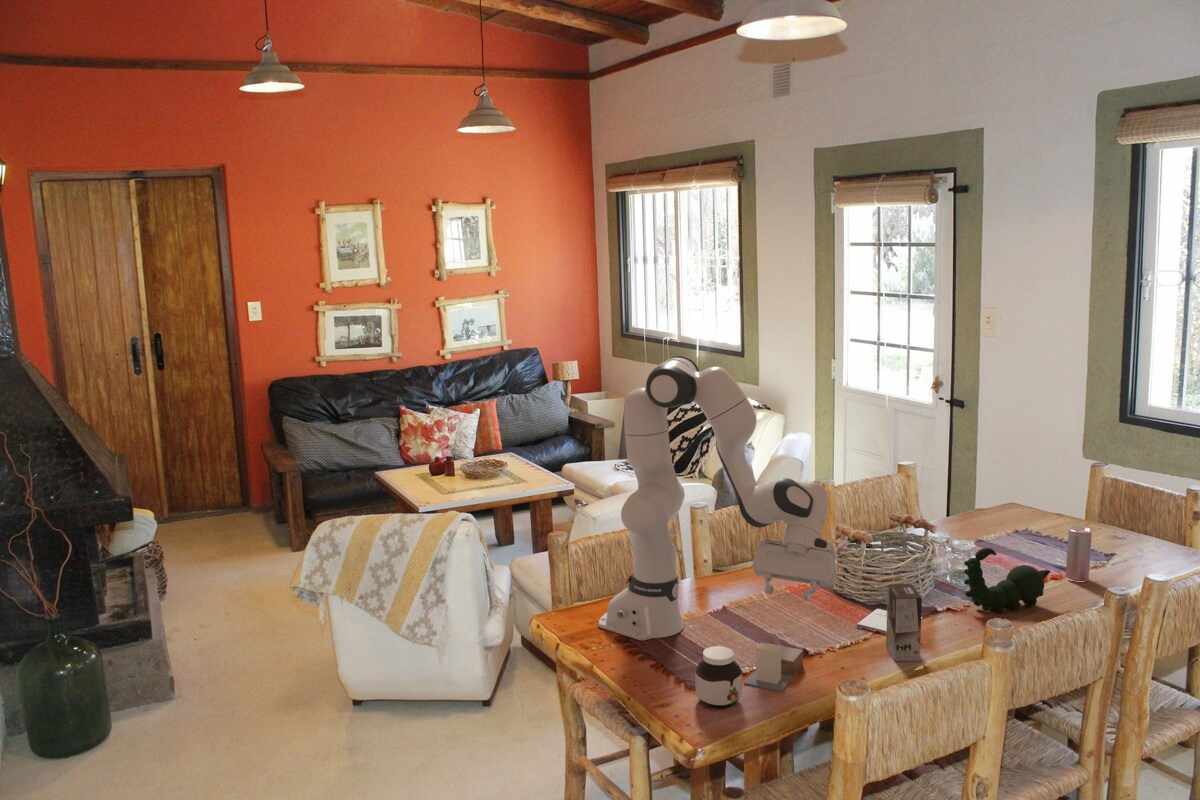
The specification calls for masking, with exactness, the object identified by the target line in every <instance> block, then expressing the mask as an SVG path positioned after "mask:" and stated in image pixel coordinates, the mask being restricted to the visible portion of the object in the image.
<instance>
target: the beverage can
mask: <svg viewBox="0 0 1200 800" xmlns="http://www.w3.org/2000/svg"><path fill="white" fill-rule="evenodd" d="M1092 536H1093V535H1092V530H1091V529H1090V528H1088V527H1085V526H1076V525H1075V526H1071V527H1069V530H1068V533H1067V547H1066V548H1067V551H1066V552H1067V553H1066V563H1065V564H1066V566H1065V569H1066V570H1065V577H1067V578H1069V579H1071V580H1074V581H1086V580H1088V581H1089V579H1090V567H1091V565H1090V563H1091V549H1092V538H1093V537H1092ZM1067 578H1066V579H1067Z"/></svg>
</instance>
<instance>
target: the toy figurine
mask: <svg viewBox="0 0 1200 800" xmlns="http://www.w3.org/2000/svg"><path fill="white" fill-rule="evenodd" d="M990 555H993V556H996V555H997V552H996V551H995V550H994V549H992V548H990V547H982V548H981V549H978V550H977V551H976V553H975V557H970V558H969V559H968V560H965V561H964V565H965V566H966V567H967V568H964V570H963V574H965V575H967V576H968V578H966V579H964V582H963V583H964V585H966V586H969V590H966V591H965V592H964V594H965V597H967V598H971V600H972V603H973V604H974V606H976V607H979V606H981V609H982V610H983V611H984V612H989V611H990V610H991V609H992V610H996V612H997V613H999V614H1004V613H1005V611H1006V608H1005V607H1006V606H1010V608H1011V609H1012V610H1014V611H1016V610H1019V609H1020V608H1021V602H1020V601H1022V603H1024V605H1026V606H1028V605H1029V606H1030V607H1031V606H1032V607H1033V606H1035V605H1036V604H1037V599H1038V598H1039V597H1042V596H1043V595H1044V590H1045V589H1044V588H1045V579H1046V578H1047V576H1049V574H1050V573H1051V570H1049V569H1042V570H1038V569H1037V568H1035V567H1034V566H1031V565H1027V564H1026V565H1025V564H1021V565H1018V566H1015V567H1014V568H1012V569H1011V570H1010V571H1009V572H1008V573H1007V576H1006V577H1005V579H1002V580H1001V581H999V582H998V583H996V585H992V586H990V587H988V586H987V585H986V580H985V578H984V577H983V576H984V575H983V574H984V571H983V569H982V567H981V566H982V563H981V561H983V560H985V559H986V558H987V557H988V556H990ZM1029 606H1028V607H1029Z"/></svg>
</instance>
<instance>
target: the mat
mask: <svg viewBox="0 0 1200 800" xmlns="http://www.w3.org/2000/svg"><path fill="white" fill-rule="evenodd" d="M793 679H794V677H793V676H790V675H785V674H781V680H780V681H779V682H778V683H777V684H773V683H768V682H764V681H759V680H756V669H755V670H754V671H753V672H752V673H751V675H749V677H748V678H747V679H746V680H745V681H744V683H743V684H744V685H746V686H749V687H750V686H751V687H753V688H754V687H755V688H760V689H764V690H768V691H774V692H778V693H783V691H784V690H785V689H786V688H787V686H788V685H789V684H790V683H791V681H792V680H793Z"/></svg>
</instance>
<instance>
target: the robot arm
mask: <svg viewBox="0 0 1200 800" xmlns="http://www.w3.org/2000/svg"><path fill="white" fill-rule="evenodd" d="M624 401H625V402H624V411H623V413H624V414H623V423H624V424H623V425H624V437H625V449H626V455H627V463H628V465H629V466H630V467H631V468H632V470H633V472H634V475H635V478H636V480H637V489H636V490H635V491H634V492H632V493H631V494H630V495H629V496H628V497H627V499H626V500H625V502H624V503H623V505H622V507H621V511H620V518H621V523H622V524H623V526H624V528H625V529H626V530H627V531H628V532H629V533H628V535H629V538H630V540H631V541H630V542H631V545H632V550H633V551H632V553H633V554H632V555H633V571H632V573H631V574H629V576H628V577H627V578H626V579H625V580H624V581H625V584H626V585H627V584H628V586H627V587H626V588H625V589H623V590H621V591H620V592H619V593H618V594H616V595H615V596H614V597H612V599H611V600H610V601H609V602H608V606H607V610H606V612H605V613H604V614H603V615H601V617H600V618H599V620H598V627H599V628H601V629H604V630H608V631H610V632H613V633H616V634H620V635H622V636H625V637H629V638H632V639H635V640H638V641H646V640H650V639H659V638H667V637H671V636H674V635H677V634H678V633H680V632H681V631H683V629H684V622H683V619H682V615H681V612H680V605H679V599H678V598H679V591H680V590H679V575H678V574H677V546H676V545H675V543H674V542H673V541H672V539H671V533H670V528H669V527H670V520H671V519H672V518H673V517H674V516H675V515H676V514H677V513H678V512H679V511H680V509H681V507H682V506H683V503H684V500H685V488H684V487H683V484H682V483H681V481H680V480H678V477H677V474H676V471H675V467H674V464H673V460H672V454H671V446H670V436H669V435H670V434H669V433H670V432H669V425H668V423H669V422H668V410H669V409H671V408H672V409H673V408H676V407H681V406H686V405H690V404H692V403H694V404H696V405H697V406H698V407H699V408H700V410H701V411H702V413H703V414H704V416H705V417H706V419H707V421H708V423H709V425H710V426H711V428H712V431H713V434H714V438H715V447H716V448H715V449H716V452H717V455H718V458H719V460H720V462H721V465H722V467H723V469H724V471H725V473H726V476H727V478H728V479H729V482H730V484H731V487H732V489H733V490H734V493H735V495H736V500H737V503H738V507H739V511H740V514H741V516H742V518H743V519H744V520H745V522H747V524H749V525H750V526H752V527H754V528H759V529H761V528H765V527H767V526H770V525H772V524H774V523H776V522H780V521H783V522H784V523H785V524H786V527H785V531H784V534H783V538H782V541H779V540H770V539H765V540H764V541H761V542H759V544H758V545H757V549H756V554H755V556H754V558H753V561H752V563H751V568H752V571H753V572H754V573H755V575H756V576H760V577H763V579H764V582H765V588H764V593H765V594H767V595H772V594H773V592H774V589H775V588H774V587H773V585H772V584H770V582H771V581H772V579H779V580H784V581H790V582H797V583H801V584H809V585H810V587H809V588H808V590H803V593H802V599H803V600H804V601H811V598H812V595H813V594H814V593H815V592H816V591H817V590H818V589H819V586H822V587H827V588H831V587H832V586H834V585H835V584H836V580H837V579H836V578H837V574H838V573H837V572H838V570H837V569H838V565H837V562H836V560H837V557H838V554H837V552H836V549H835V547H834V545H833V543H831V541H829V540H826V539H824V538H822V530H823V527H824V526H825V525H826V520H827V516H828V511H829V506H830V505H829V503H830V499H829V498H830V497H829V493H828V491H827V489H826V488H825V487H824V486H823V485H821V484H819V483H817V482H815V481H809V480H806V481H802V482H798V481H795V480H794V479H791V478H787V477H784V478H779V479H777V480H774V481H770V482H768V483H766V484H759V482H757V481H756V478H755V476H754V474H753V472H752V470H751V468H750V465H749V463H748V461H747V459H746V455H745V449H746V445H747V443H748V442H749V440H750V438H751V437H752V435H753V434H754V431H756V430H755V429H756V428H757V427H756V426H757V416H756V413H755V409H754V408H753V406H752V403H751V402H750V400H749V399H748V398H747V396H746V394H745V393H744V391H743V389H742V388H741V387H740V385H739V384H738V382H737V381H736V380H735V379H734V377H733V376H732V374H730V373H729V372H728V371H727V370H726V369H725V368H724V367H722V366H710V367H707V368H705V369H703V370H702V371H700V369H699V367H698V365H697V363H695V361H693V360H692V359H691V358H689V357H685V356H682V355H681V356H679V355H678V356H677V355H676V356H672V357H670V358H668V359H666V360H663V361H662V362H660V363H659V364H658V365H657V366H656V367H654V368H653V369H652V370H651V371H650V372H649V375H648V377H647V379H646V382H645V386H643V387H637V388H635V389H632V390H631V391H630V392H629V393H628V394H627V395H626V397H625V399H624Z"/></svg>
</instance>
